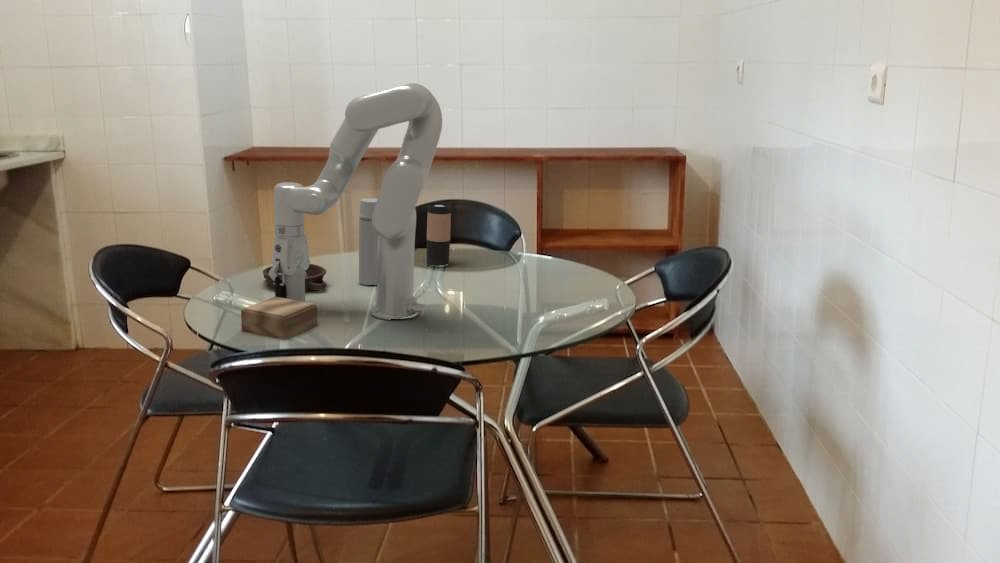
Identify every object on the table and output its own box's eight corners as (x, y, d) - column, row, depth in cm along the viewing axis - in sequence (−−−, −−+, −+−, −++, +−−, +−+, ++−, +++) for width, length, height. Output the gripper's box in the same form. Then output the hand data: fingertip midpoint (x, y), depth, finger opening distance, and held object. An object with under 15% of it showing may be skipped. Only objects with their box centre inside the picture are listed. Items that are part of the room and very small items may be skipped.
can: (270, 308, 229) (269, 264, 226) (289, 301, 236) (288, 259, 232) (292, 313, 226) (291, 268, 223) (311, 306, 232) (310, 263, 229)
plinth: (317, 324, 218) (317, 303, 216) (285, 339, 206) (285, 317, 205) (275, 316, 223) (274, 295, 221) (241, 330, 211) (241, 308, 210)
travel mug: (423, 262, 285) (425, 202, 280) (446, 261, 287) (448, 202, 282) (428, 268, 278) (430, 206, 273) (451, 267, 280) (454, 206, 275)
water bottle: (371, 288, 252) (371, 203, 246) (352, 283, 257) (352, 199, 250) (393, 282, 259) (394, 200, 253) (374, 277, 264) (375, 196, 257)
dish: (285, 274, 264) (284, 258, 262) (344, 285, 254) (344, 269, 253) (244, 286, 248) (244, 270, 247) (306, 299, 239) (305, 282, 238)
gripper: (280, 238, 216) (281, 305, 221) (321, 226, 232) (321, 290, 236) (256, 234, 219) (257, 301, 224) (298, 223, 234) (298, 286, 239)
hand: (290, 295), depth 230 cm, fingers closed on can, 7 cm apart
